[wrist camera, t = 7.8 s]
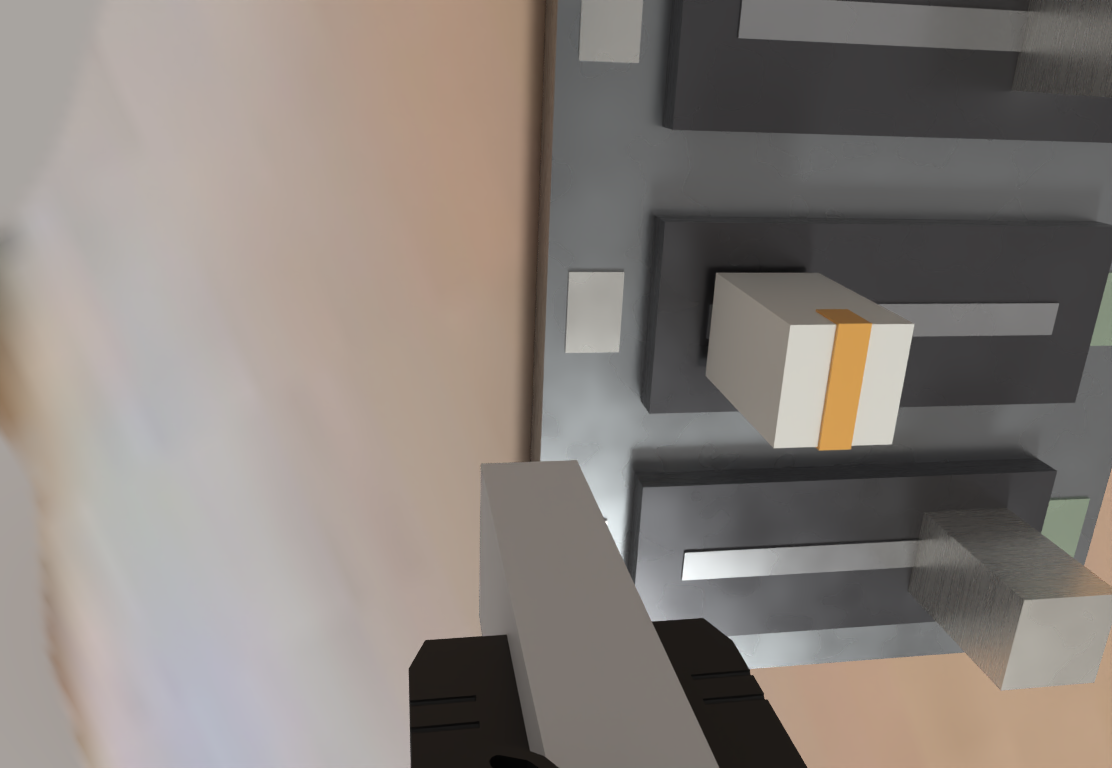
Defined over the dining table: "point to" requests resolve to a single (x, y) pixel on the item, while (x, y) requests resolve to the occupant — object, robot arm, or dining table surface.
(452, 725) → the robot arm
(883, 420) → the block
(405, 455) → the dining table surface
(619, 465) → the panel
